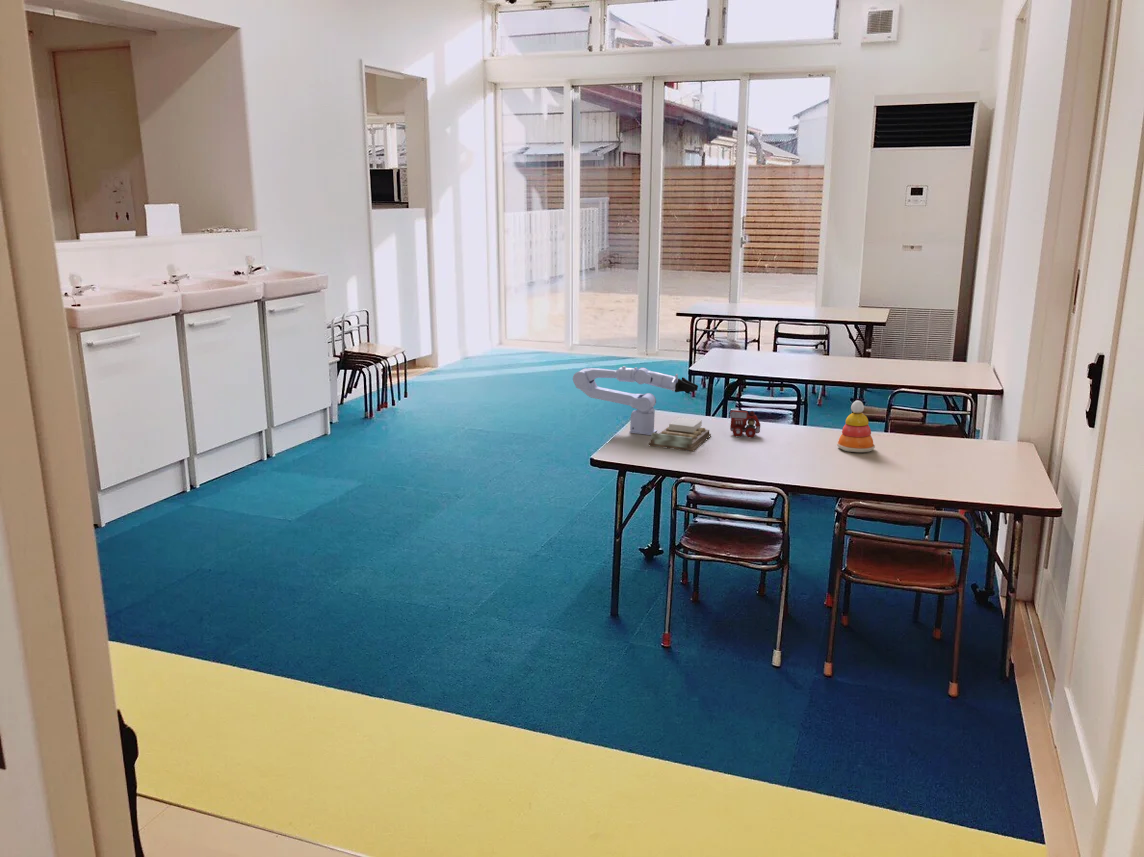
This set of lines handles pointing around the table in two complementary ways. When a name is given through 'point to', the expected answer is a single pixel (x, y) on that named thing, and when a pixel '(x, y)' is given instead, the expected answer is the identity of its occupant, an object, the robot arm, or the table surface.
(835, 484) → the table surface
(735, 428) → the toy fire truck
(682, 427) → the stone slab
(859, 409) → the stacking toy
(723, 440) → the table surface
